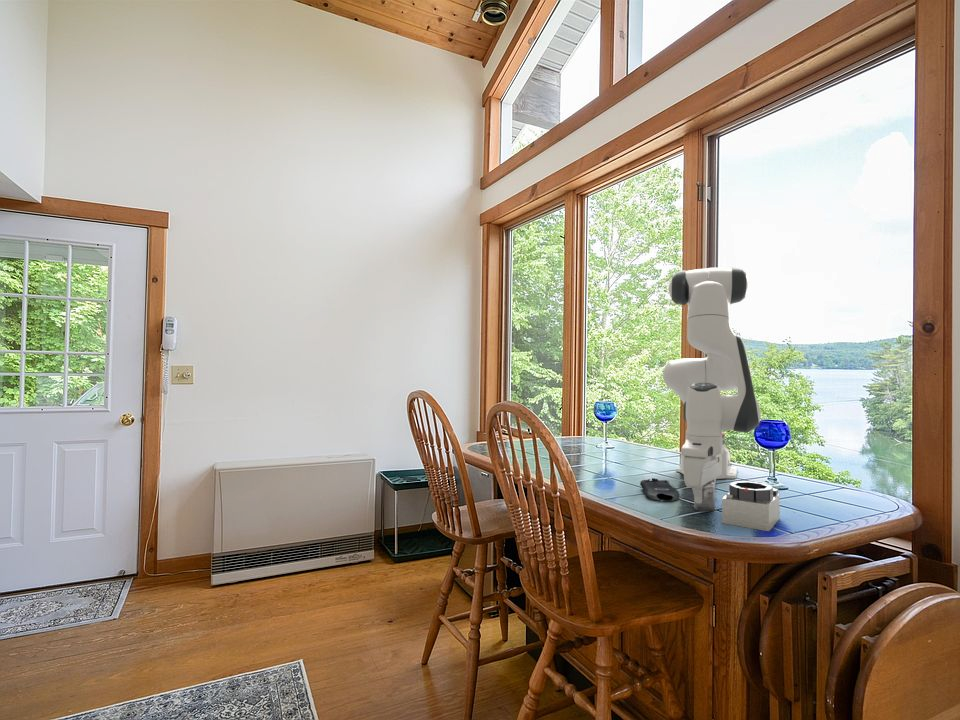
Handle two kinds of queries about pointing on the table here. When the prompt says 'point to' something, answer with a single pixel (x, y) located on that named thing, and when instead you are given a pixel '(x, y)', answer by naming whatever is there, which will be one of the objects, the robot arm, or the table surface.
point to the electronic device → (659, 489)
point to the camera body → (751, 505)
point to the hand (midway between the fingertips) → (704, 498)
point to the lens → (707, 498)
